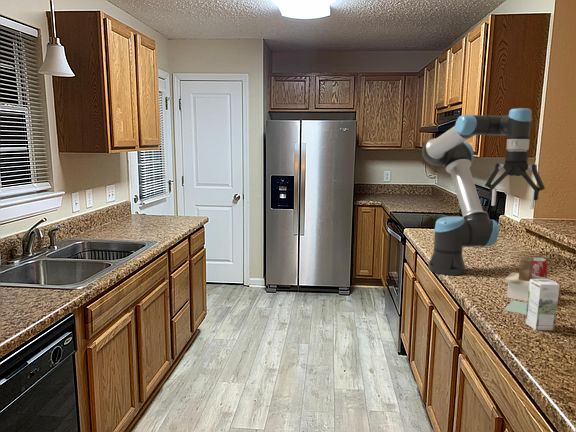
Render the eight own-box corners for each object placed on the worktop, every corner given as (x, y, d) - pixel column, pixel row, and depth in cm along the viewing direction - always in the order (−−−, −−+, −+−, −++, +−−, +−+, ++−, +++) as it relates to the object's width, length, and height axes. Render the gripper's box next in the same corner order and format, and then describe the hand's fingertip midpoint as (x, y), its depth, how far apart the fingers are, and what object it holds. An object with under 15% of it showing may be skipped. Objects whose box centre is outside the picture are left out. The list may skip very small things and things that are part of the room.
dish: (506, 297, 160) (508, 281, 159) (513, 291, 166) (514, 276, 166) (534, 303, 154) (536, 287, 153) (540, 297, 161) (541, 281, 160)
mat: (503, 310, 147) (503, 309, 147) (512, 301, 156) (512, 300, 156) (544, 319, 139) (544, 318, 139) (551, 309, 149) (551, 308, 148)
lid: (504, 281, 158) (506, 259, 157) (511, 275, 167) (513, 253, 166) (539, 288, 152) (541, 264, 150) (545, 280, 160) (547, 258, 159)
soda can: (522, 290, 169) (525, 259, 167) (525, 285, 174) (528, 255, 173) (543, 293, 165) (546, 262, 163) (546, 289, 170) (549, 258, 168)
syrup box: (542, 323, 136) (547, 277, 134) (555, 331, 130) (560, 283, 128) (524, 323, 136) (529, 277, 134) (535, 331, 130) (540, 283, 128)
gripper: (479, 150, 172) (475, 205, 175) (553, 151, 156) (547, 211, 160) (485, 150, 178) (481, 203, 181) (557, 151, 162) (551, 209, 165)
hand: (512, 207), depth 170 cm, fingers open, 13 cm apart
